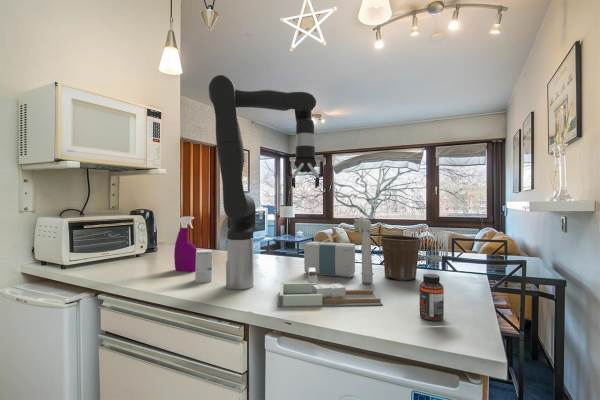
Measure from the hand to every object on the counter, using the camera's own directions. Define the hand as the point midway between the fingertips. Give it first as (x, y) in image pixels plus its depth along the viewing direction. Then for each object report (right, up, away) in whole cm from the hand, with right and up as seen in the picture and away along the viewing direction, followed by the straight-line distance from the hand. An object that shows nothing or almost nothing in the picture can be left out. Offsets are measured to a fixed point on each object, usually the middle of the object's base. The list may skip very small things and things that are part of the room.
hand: (305, 188), depth 122 cm
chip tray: (-2, -36, -23) cm, 43 cm away
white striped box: (+11, -36, +10) cm, 39 cm away
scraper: (+2, -33, -4) cm, 33 cm away
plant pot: (+39, -36, +6) cm, 53 cm away
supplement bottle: (+33, -36, -39) cm, 62 cm away
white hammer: (+22, -36, -3) cm, 43 cm away
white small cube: (+9, -36, -24) cm, 44 cm away
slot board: (+7, -36, -23) cm, 43 cm away
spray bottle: (-52, -37, +14) cm, 65 cm away
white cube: (+4, -36, -24) cm, 43 cm away
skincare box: (-39, -36, -2) cm, 53 cm away
